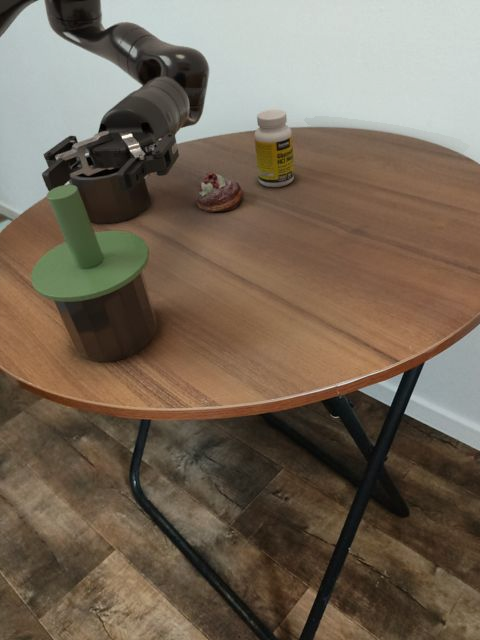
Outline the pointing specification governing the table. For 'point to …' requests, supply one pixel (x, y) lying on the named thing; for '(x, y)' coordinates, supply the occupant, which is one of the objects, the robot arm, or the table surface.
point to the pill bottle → (274, 149)
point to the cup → (110, 322)
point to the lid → (85, 254)
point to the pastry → (218, 193)
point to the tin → (109, 196)
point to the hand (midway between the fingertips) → (84, 183)
